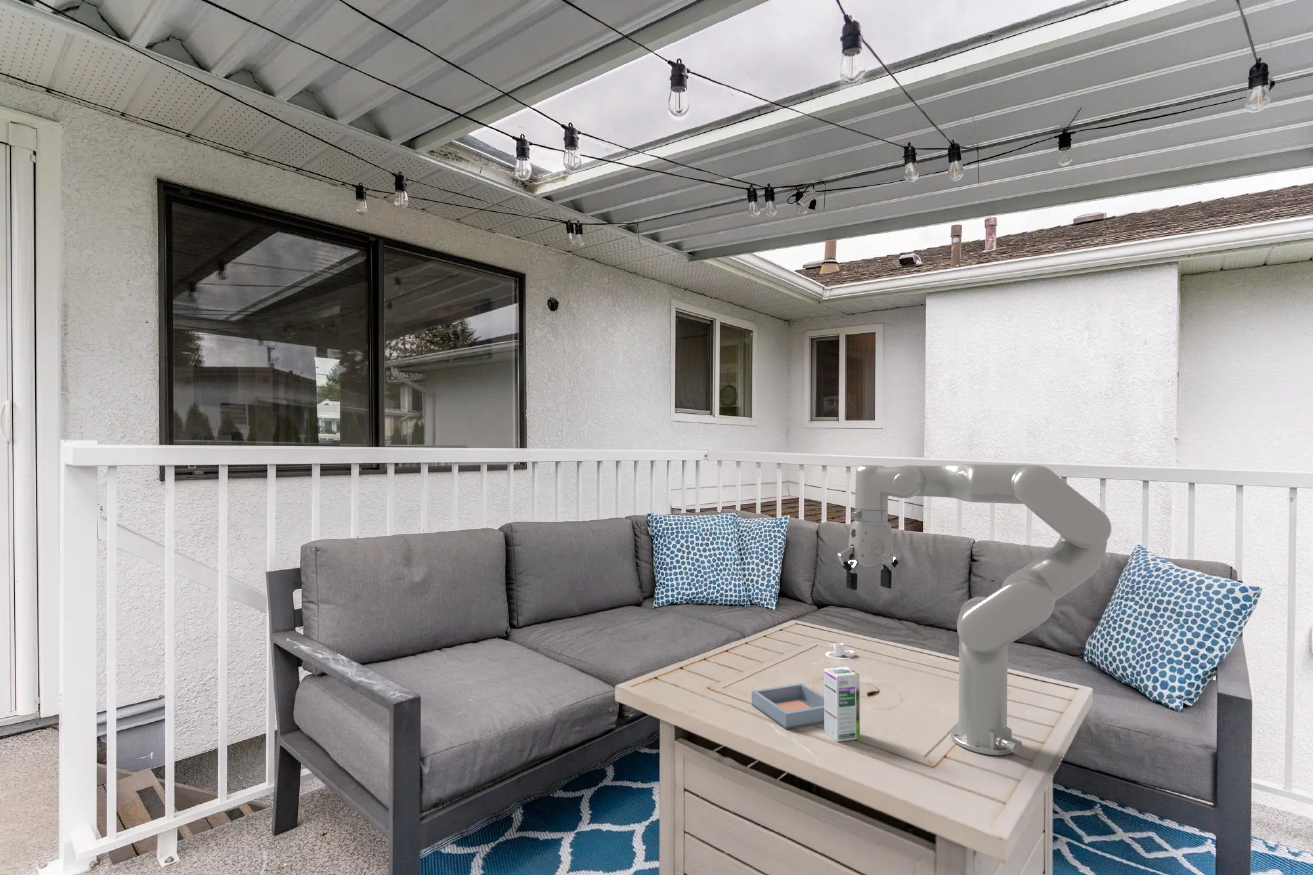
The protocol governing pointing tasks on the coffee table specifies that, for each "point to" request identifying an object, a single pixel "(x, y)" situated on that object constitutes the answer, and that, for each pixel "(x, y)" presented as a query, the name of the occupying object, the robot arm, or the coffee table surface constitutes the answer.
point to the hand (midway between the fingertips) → (868, 588)
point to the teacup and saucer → (840, 651)
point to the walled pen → (790, 705)
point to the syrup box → (842, 703)
